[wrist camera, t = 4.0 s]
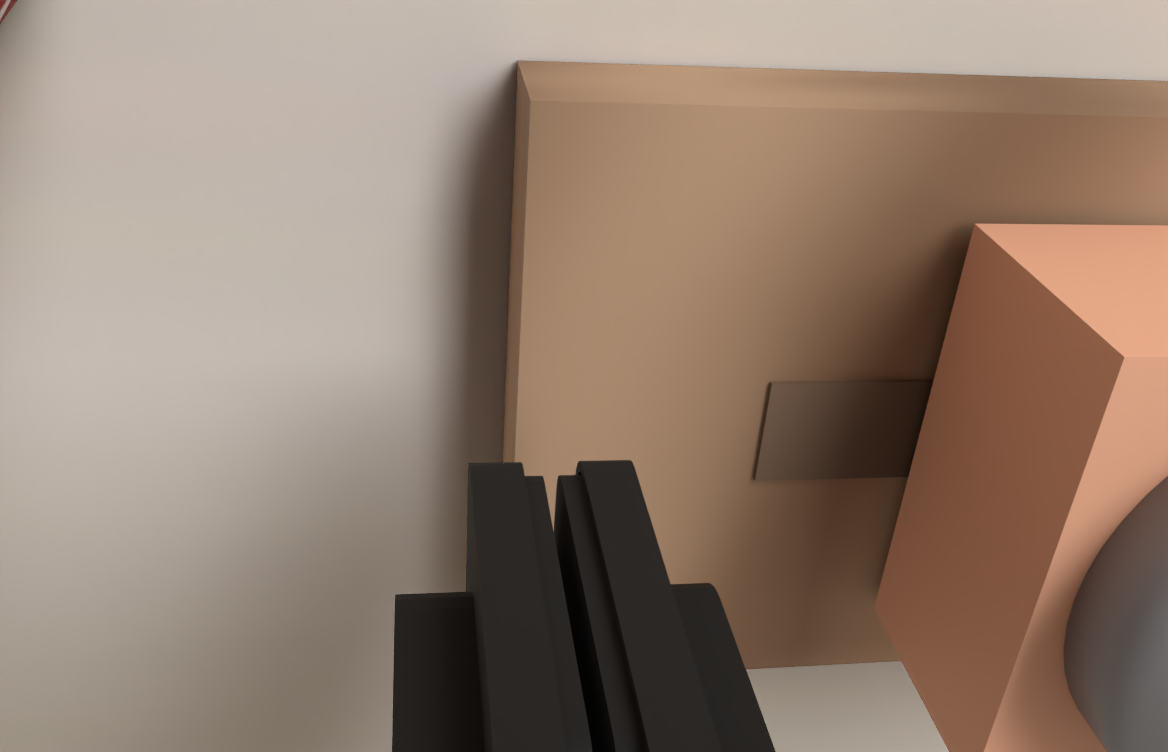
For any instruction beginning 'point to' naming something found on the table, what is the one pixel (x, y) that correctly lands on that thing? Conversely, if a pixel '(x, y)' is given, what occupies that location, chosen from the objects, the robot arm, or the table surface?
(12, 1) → the soda can
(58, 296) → the table surface
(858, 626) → the tensioner rail
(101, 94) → the table surface
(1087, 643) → the tensioner carriage
